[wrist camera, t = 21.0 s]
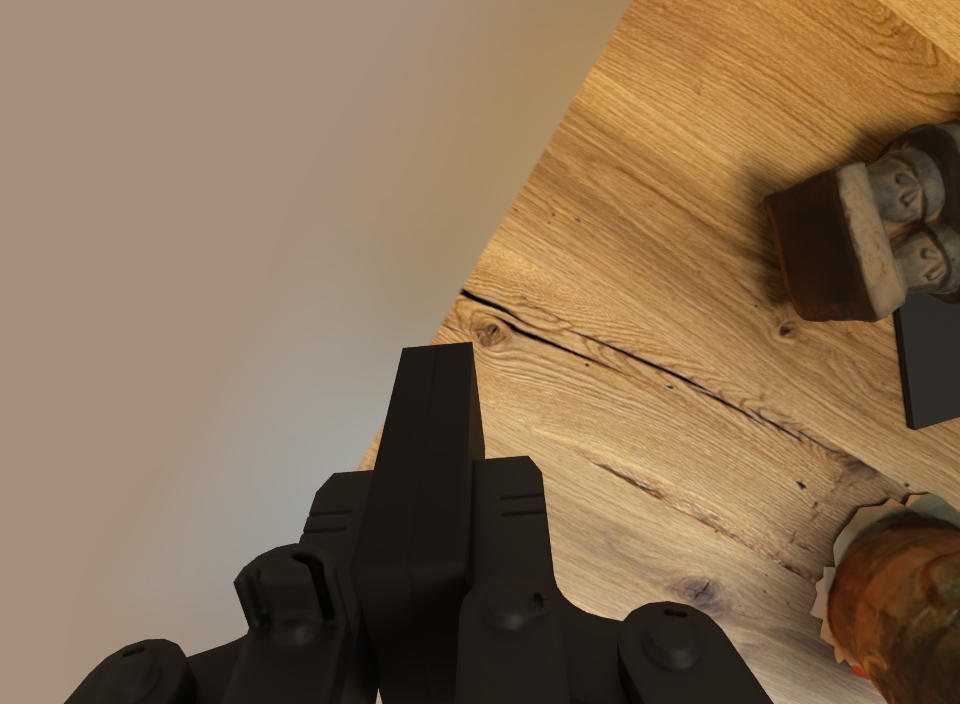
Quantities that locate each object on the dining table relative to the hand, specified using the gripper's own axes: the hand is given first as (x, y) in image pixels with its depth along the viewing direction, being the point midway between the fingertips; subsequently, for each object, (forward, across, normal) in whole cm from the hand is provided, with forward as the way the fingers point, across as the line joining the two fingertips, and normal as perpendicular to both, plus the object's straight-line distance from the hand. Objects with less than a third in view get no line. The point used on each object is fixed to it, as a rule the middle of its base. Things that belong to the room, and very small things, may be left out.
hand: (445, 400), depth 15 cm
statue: (+22, +17, -6) cm, 28 cm away
